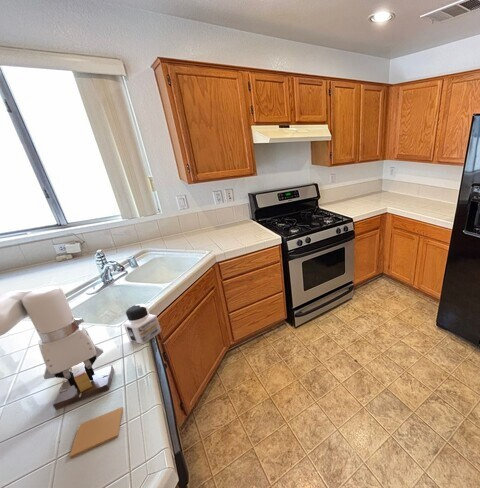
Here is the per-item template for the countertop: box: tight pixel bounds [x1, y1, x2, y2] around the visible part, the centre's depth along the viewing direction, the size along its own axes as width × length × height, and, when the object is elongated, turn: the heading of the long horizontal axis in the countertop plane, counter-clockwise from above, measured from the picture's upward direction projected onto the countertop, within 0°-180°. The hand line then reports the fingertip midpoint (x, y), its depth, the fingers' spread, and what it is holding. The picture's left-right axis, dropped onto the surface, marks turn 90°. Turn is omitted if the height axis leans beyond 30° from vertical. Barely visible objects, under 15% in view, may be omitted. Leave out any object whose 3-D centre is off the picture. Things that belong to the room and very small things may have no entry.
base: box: [52, 365, 115, 411], centre depth 78 cm, size 12×11×2 cm
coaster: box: [69, 406, 124, 459], centre depth 66 cm, size 9×9×1 cm
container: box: [122, 303, 162, 345], centre depth 99 cm, size 8×8×13 cm
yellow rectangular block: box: [70, 362, 92, 392], centre depth 77 cm, size 7×3×5 cm, turn 49°
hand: (83, 381), depth 78 cm, fingers closed on yellow rectangular block, 2 cm apart
